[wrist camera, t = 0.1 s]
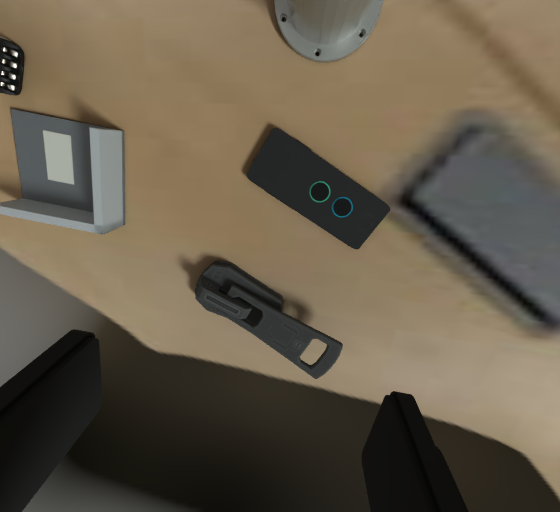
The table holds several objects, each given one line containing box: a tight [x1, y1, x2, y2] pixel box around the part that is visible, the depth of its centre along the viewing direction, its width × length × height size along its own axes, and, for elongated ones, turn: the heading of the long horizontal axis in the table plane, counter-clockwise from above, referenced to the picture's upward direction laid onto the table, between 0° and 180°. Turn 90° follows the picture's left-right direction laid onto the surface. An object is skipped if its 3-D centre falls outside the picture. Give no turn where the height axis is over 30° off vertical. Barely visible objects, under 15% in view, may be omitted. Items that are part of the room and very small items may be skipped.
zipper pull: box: [195, 261, 343, 379], centre depth 48 cm, size 9×7×25 cm
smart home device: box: [247, 128, 390, 249], centre depth 43 cm, size 8×2×20 cm
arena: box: [0, 109, 125, 234], centre depth 42 cm, size 14×16×6 cm
